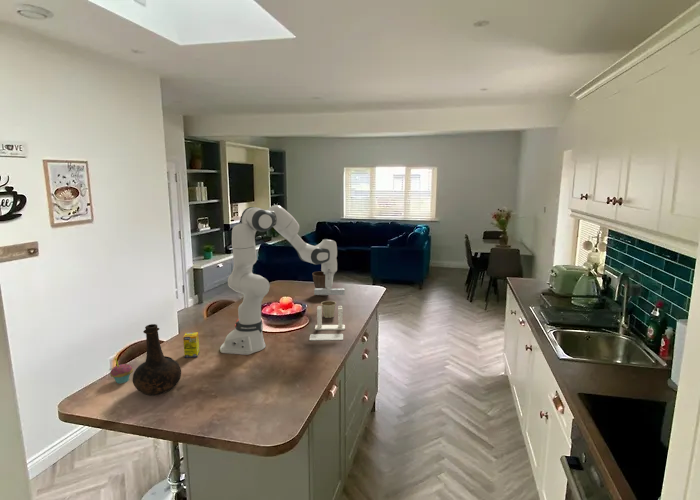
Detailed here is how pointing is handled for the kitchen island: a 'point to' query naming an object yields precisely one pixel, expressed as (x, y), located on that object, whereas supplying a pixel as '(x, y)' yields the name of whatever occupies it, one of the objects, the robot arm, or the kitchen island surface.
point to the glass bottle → (156, 367)
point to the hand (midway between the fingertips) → (329, 291)
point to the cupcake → (121, 372)
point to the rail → (325, 292)
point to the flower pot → (328, 308)
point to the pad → (326, 337)
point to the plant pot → (319, 280)
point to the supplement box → (191, 345)
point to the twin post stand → (329, 327)
